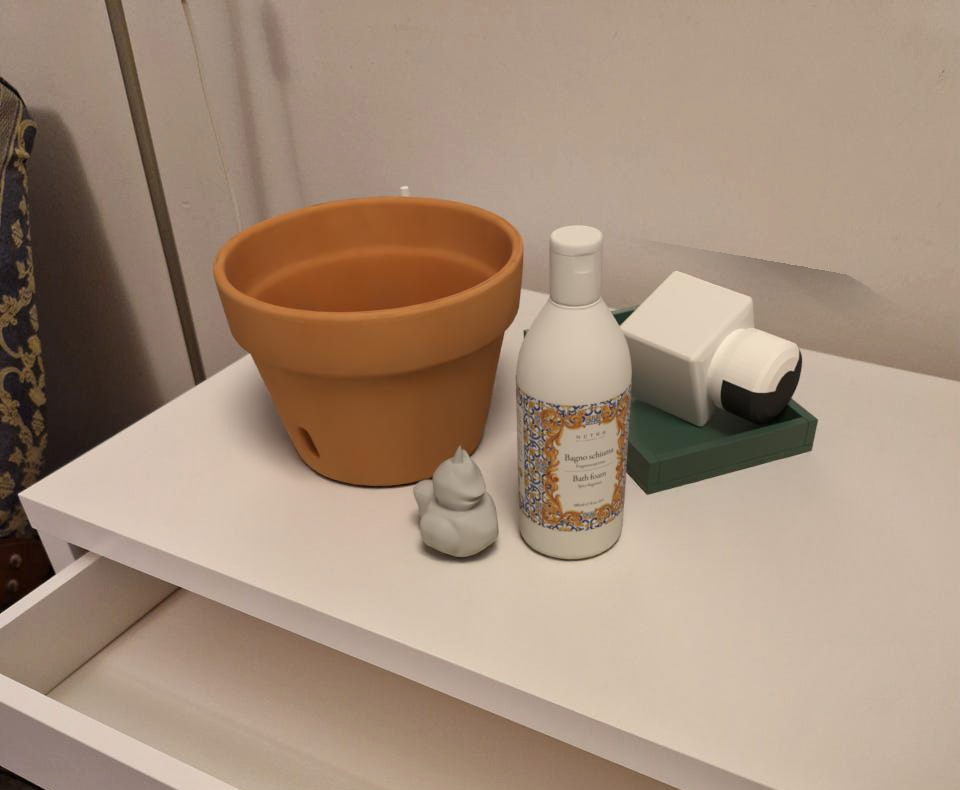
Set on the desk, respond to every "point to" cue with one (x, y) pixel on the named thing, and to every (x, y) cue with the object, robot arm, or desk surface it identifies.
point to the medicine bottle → (708, 354)
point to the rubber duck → (456, 508)
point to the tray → (706, 441)
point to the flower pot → (375, 327)
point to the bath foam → (573, 408)
